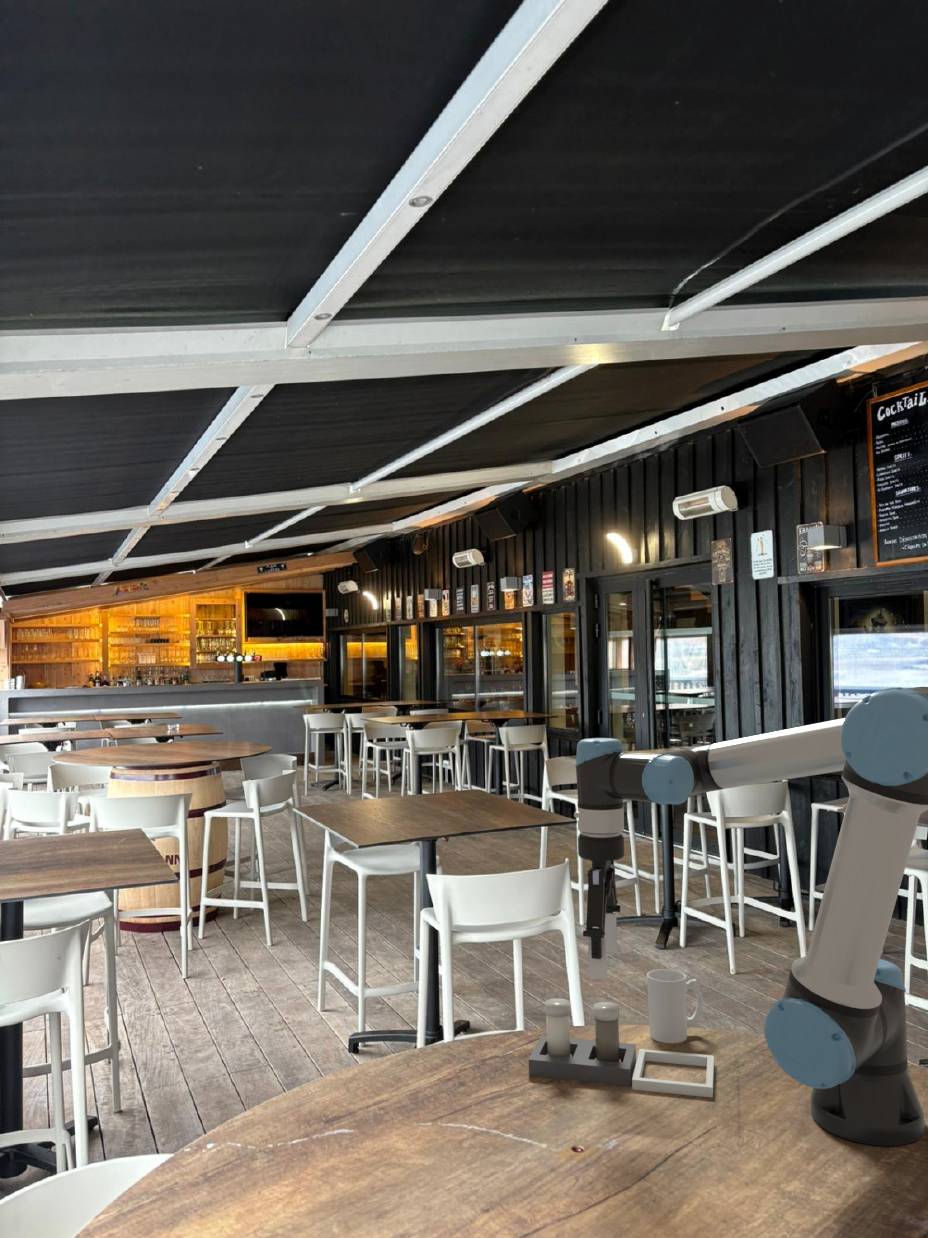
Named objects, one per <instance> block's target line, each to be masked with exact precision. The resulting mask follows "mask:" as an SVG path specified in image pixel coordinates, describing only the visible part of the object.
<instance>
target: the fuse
mask: <svg viewBox="0 0 928 1238" xmlns="http://www.w3.org/2000/svg"><path fill="white" fill-rule="evenodd" d="M544 1014H545V1015H546V1019H545V1021H546V1036H547V1054H546V1055H548V1056H559V1057H569V1058H572V1055H571V1053H570V1038H571V1029H570V1028H571V1025H570V1024H571V1023H570V1019H571V1018H570V1014H571V1001H570V1000H568V999H566V998H558V997H557V998H555V997H554V998H549V999H547V1000H545V1002H544Z"/></svg>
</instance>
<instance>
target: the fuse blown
mask: <svg viewBox="0 0 928 1238" xmlns="http://www.w3.org/2000/svg"><path fill="white" fill-rule="evenodd" d="M592 1010H593V1011H592V1015H593V1018H594V1036H595V1037H594V1038H595V1044H596V1058H595V1060H601V1061H611V1062H621V1060H620V1055H619V1043H620V1030H619V1028H620V1026H619V1019H620V1005H619V1004H617V1003H614V1002H609V1001H601V1002H597V1003H594V1004H593V1005H592Z"/></svg>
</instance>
